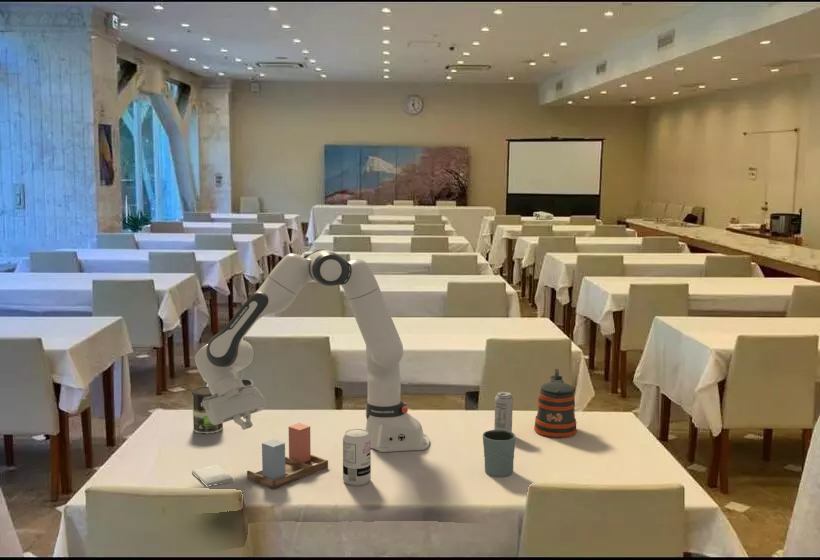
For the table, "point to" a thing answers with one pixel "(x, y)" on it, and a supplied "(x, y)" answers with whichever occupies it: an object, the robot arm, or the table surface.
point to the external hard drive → (212, 475)
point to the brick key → (299, 442)
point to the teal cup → (499, 452)
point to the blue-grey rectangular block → (273, 459)
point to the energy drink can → (503, 411)
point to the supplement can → (356, 457)
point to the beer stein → (556, 409)
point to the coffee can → (202, 413)
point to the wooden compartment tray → (290, 472)
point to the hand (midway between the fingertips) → (248, 427)
